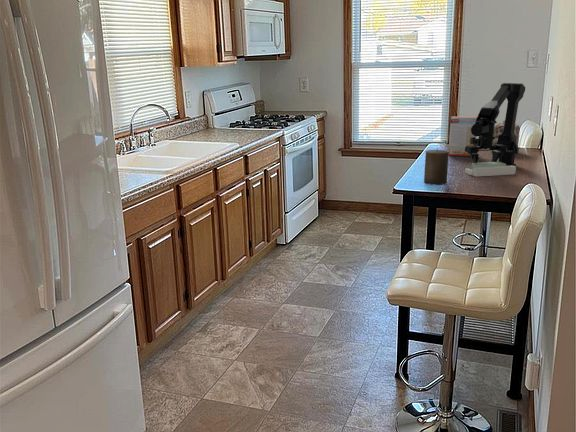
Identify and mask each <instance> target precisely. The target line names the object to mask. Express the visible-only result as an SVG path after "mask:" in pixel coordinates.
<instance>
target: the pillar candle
mask: <svg viewBox="0 0 576 432" xmlns="http://www.w3.org/2000/svg"><path fill="white" fill-rule="evenodd" d="M448 154H449V150H444V149H439V148H438V147H437V148H436V149H428V150H425V156H424V157H425V161H424V174H423V175H424V177H423V183H425V184H429V185H436V186H437V185H439V186H440V185H445V184H447V183H448V168H449V167H448V166H449V155H448Z"/></svg>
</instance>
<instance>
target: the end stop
mask: <svg viewBox="0 0 576 432" xmlns="http://www.w3.org/2000/svg"><path fill="white" fill-rule="evenodd" d="M516 169H517V166H516V165H511V166H495V167H477V168H473V170H471V168H466V167H465V169H464V173H465V174H467V175H470V176H474V177H477V178H478V177H489V176H490V177H492V176H508V175H516Z"/></svg>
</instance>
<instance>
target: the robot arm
mask: <svg viewBox="0 0 576 432" xmlns="http://www.w3.org/2000/svg"><path fill="white" fill-rule="evenodd" d="M499 87H500V88H499V89H498V90H497V92H496V93H495V94H494V95H493V98H492V99H491V100H490V101H489V102H487V103H485V104H484V105H483V106H482V107H481V108H480V110H479V113H478V114H477V116H476V117H477V119H476V122H475V124H474V125H473V126H472V128H471V133H472V134H473V135H474V136H477V137H478V138H477V137H476V138H475V137H472V138H470V144H473V145H469V146H466V147H465V152H467V153H468V154H470V155H471V156H470V157H471V161H472V163H478V161H479V155H480V154H479V152H484V151H485V152H488V151H491V150H493V151H492V153H491V154H492V156H491V162H502V163H505V164H506V166H516V163H515V159H516V156H515V155H517V154H518V153H519V150H520V148H519V144H518V145H517V143H516V136H515V134H514V128H515V124H516V121H517V116H518V115H517V114H518V109H519V108H518V107H519V104H520V101H521V100H522V99H523V97H524V94H525V92H526V87H525V85H524V83H519V82H518V83H516V82H515V83H514V82H503V83H501V85H500V86H499ZM505 100H507V104H506V112H505V118H504V120H505V124H504V130H503V132H502V134H501V135H499V136H498V141H497V144H494V145H493V139H495V137H494V127H495V125H496V124H498V122H497V120H496V119H497V118H498V116H499V115H500V108H501V107H502V105H503V103H504V102H505Z"/></svg>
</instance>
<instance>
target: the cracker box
mask: <svg viewBox="0 0 576 432" xmlns="http://www.w3.org/2000/svg"><path fill="white" fill-rule="evenodd" d="M477 117H478V116H465V115H462V116H458V115H457V116H456V115H455V116H454V115H453V116H451V117H450V122H449V123H450V127H449V138H448V139H449V140H448V152H449V154H448V156H450V157H451V156H454V157H455V156H456V157H458V156H459V157H471V155H470V154H468V153H467V152H465V147H466V146H469V145H473V144H470V138H472V137H475V138H476V139H477V137H478V136H474V135H473V134H472V133H471V128H472V126H473V125H474V124H475V122H476V119H477Z"/></svg>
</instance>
